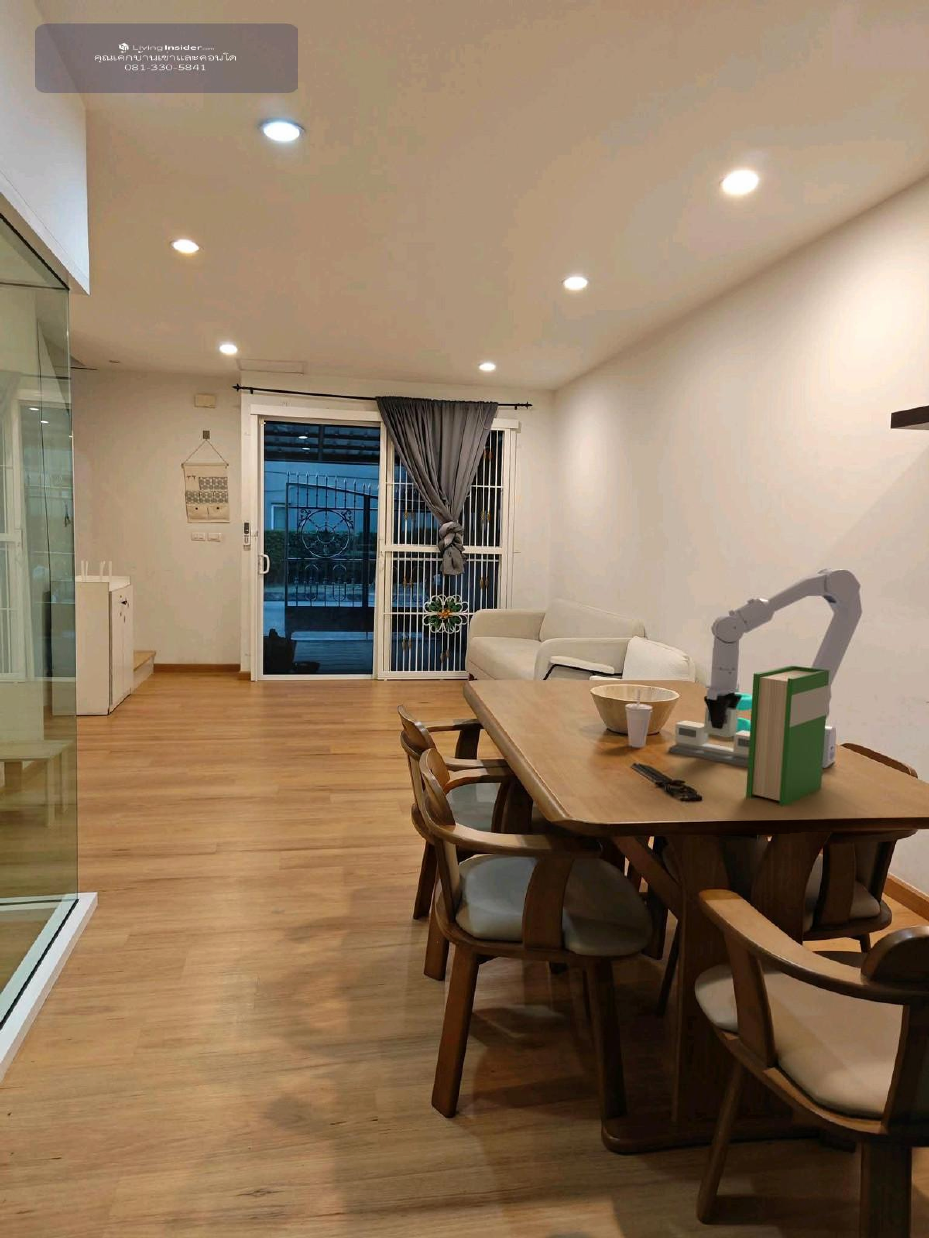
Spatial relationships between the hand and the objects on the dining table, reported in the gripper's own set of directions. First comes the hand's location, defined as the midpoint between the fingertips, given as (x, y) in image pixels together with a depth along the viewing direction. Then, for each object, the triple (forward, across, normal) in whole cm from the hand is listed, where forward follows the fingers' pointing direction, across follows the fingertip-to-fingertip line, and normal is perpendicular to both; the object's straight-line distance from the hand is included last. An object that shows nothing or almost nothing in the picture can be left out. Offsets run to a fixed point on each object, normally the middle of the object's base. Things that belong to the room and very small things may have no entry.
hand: (721, 726), depth 176 cm
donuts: (+7, -26, -6) cm, 28 cm away
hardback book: (+7, +18, +20) cm, 28 cm away
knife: (+8, +29, -1) cm, 30 cm away
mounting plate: (+7, 0, 0) cm, 7 cm away
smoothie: (+7, +6, -18) cm, 20 cm away
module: (+2, 0, 0) cm, 2 cm away
